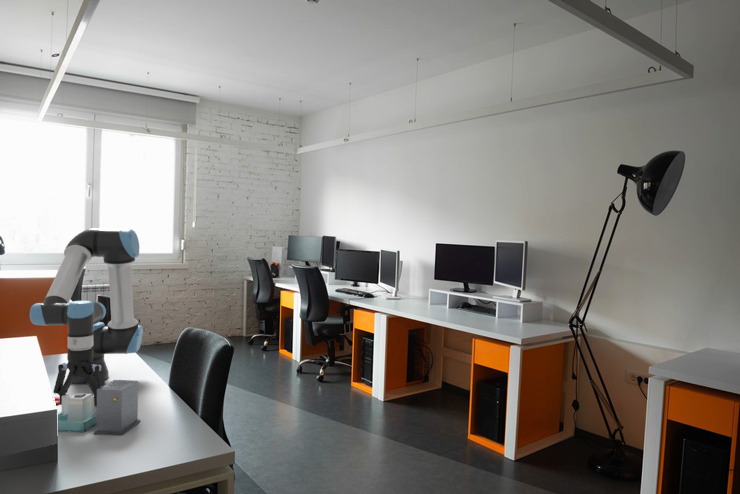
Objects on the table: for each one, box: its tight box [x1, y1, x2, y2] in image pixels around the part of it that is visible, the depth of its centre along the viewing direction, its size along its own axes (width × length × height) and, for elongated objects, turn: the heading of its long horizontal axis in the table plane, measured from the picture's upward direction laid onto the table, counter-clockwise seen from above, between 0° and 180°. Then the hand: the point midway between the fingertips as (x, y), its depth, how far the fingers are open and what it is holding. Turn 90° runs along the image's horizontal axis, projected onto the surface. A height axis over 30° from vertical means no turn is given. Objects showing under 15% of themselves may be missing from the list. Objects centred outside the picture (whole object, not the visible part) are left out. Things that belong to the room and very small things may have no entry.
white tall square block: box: [68, 392, 93, 421], centre depth 170 cm, size 5×5×9 cm
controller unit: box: [93, 379, 141, 436], centre depth 165 cm, size 11×9×14 cm
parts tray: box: [57, 410, 97, 433], centre depth 170 cm, size 17×13×3 cm
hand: (80, 414), depth 170 cm, fingers open, 9 cm apart
